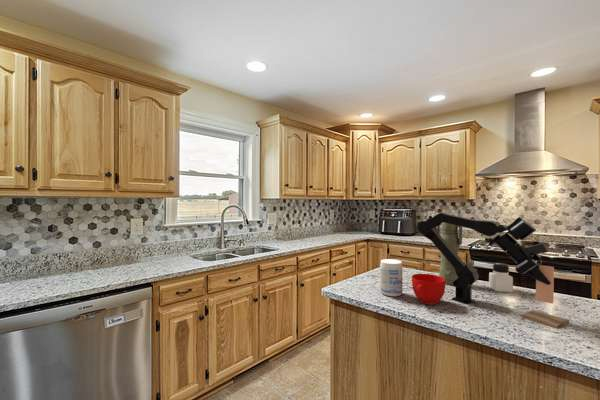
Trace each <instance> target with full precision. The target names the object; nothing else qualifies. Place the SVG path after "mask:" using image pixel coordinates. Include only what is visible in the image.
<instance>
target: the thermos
mask: <svg viewBox="0 0 600 400" xmlns="http://www.w3.org/2000/svg"><path fill="white" fill-rule="evenodd" d="M453 215H454V216H456V215H455V214H453ZM436 228H437V229H438V232H439V234H440V236H441V237H442V238H443V239H444V240H445V242H446V243H447V244H448V245H449V246H450V247H451V248H452V250H453V251H454V252H455V253H456V254H457V255H458V256H459V250H460V246H461V245H462V244H463V227H461V226H457V225H453V224H449V223H445V222H443V223H441V224H440V225H438V226H437V227H436ZM440 230H441V232H440ZM438 270H439V271H438V272H439V274H438V276H440V277H443V278H444V279H445V280H446V284H445V286H453V287H454V284H453V281H455V280H456V279H458V276H457V275H456V272H455V270H454V267H453V266H452V265H451V264H450V262H449V261H448V260H447V259H446V258H445V256H444V255H443V254H442V253H441V252H440V268H439V269H438Z"/></svg>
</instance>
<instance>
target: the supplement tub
mask: <svg viewBox="0 0 600 400" xmlns="http://www.w3.org/2000/svg"><path fill="white" fill-rule="evenodd" d="M379 269H380V274H379V275H380V278H379V279H380V285H379V286H380V293H381V294H382V295H385V296H388V297H400V296H401V295H402V294H403V262H402V261H401V260H400V259H393V258H384V259H381V260H380V267H379Z"/></svg>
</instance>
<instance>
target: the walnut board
mask: <svg viewBox="0 0 600 400" xmlns="http://www.w3.org/2000/svg"><path fill="white" fill-rule="evenodd" d="M520 318H522V319H526V320H529V321H532V322H535V323H539V324H542V325H544V326H548V327H551V328H554V329H559V328H561V327H562V326H564V325H566V324H568V323H570V320H569V319H568V318H564V317H560V316H557V315H553V314H551V313H547V312H543V311H540V310H536V309H533V310H531V311H527V312H526V313H523V314H521V317H520Z"/></svg>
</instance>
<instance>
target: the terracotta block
mask: <svg viewBox="0 0 600 400" xmlns="http://www.w3.org/2000/svg"><path fill="white" fill-rule="evenodd" d="M539 269H540V270H541V272H542V273H543V274H544V275H545V277H546V278H547V279H548V280H549V281H550V283H551V284H549V285H547V284H545V283H542V282H540V281H538V280H536V279H535V301H537V302H542V303H548V304H552V305H553V304H554V297H555V295H554V291H555V290H554V288H555V286H554V285H555V284H554V283H555V281H554V279H555V267H554V266H550V265H542V264H541V265H539Z"/></svg>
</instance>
